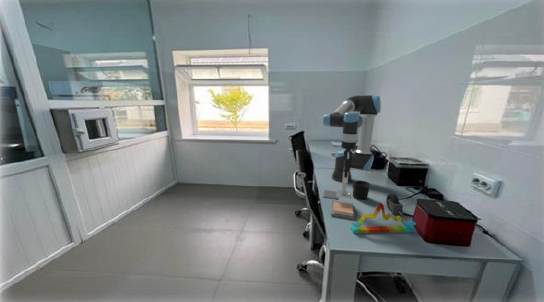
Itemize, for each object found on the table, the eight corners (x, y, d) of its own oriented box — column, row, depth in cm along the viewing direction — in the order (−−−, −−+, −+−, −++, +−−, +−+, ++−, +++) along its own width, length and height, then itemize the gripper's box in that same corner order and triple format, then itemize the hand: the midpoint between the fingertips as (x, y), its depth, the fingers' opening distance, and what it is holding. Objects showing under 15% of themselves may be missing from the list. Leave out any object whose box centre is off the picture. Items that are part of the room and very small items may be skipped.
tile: (333, 202, 122) (333, 210, 113) (352, 204, 120) (353, 213, 110) (333, 204, 123) (333, 212, 114) (351, 207, 120) (352, 215, 111)
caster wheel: (383, 206, 126) (396, 218, 111) (384, 191, 124) (397, 200, 109) (392, 207, 125) (407, 218, 110) (394, 191, 124) (409, 201, 109)
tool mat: (324, 190, 145) (324, 189, 145) (338, 192, 142) (338, 191, 142) (323, 197, 135) (323, 196, 135) (338, 199, 132) (338, 198, 132)
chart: (410, 228, 103) (415, 200, 100) (414, 232, 100) (420, 204, 97) (350, 229, 102) (353, 201, 98) (353, 233, 99) (356, 205, 95)
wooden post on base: (336, 191, 127) (338, 163, 122) (350, 192, 124) (353, 164, 120) (336, 196, 119) (338, 167, 115) (351, 198, 117) (354, 169, 113)
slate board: (332, 202, 128) (332, 200, 128) (352, 205, 125) (353, 203, 124) (331, 215, 113) (331, 213, 113) (354, 219, 110) (355, 217, 109)
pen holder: (369, 201, 130) (371, 186, 127) (353, 200, 132) (355, 185, 129) (365, 195, 139) (367, 181, 136) (351, 193, 141) (352, 179, 138)
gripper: (341, 138, 122) (338, 175, 128) (342, 143, 108) (338, 185, 114) (355, 139, 120) (351, 177, 126) (357, 144, 106) (352, 187, 111)
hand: (344, 181), depth 120 cm, fingers closed on wooden post on base, 2 cm apart
